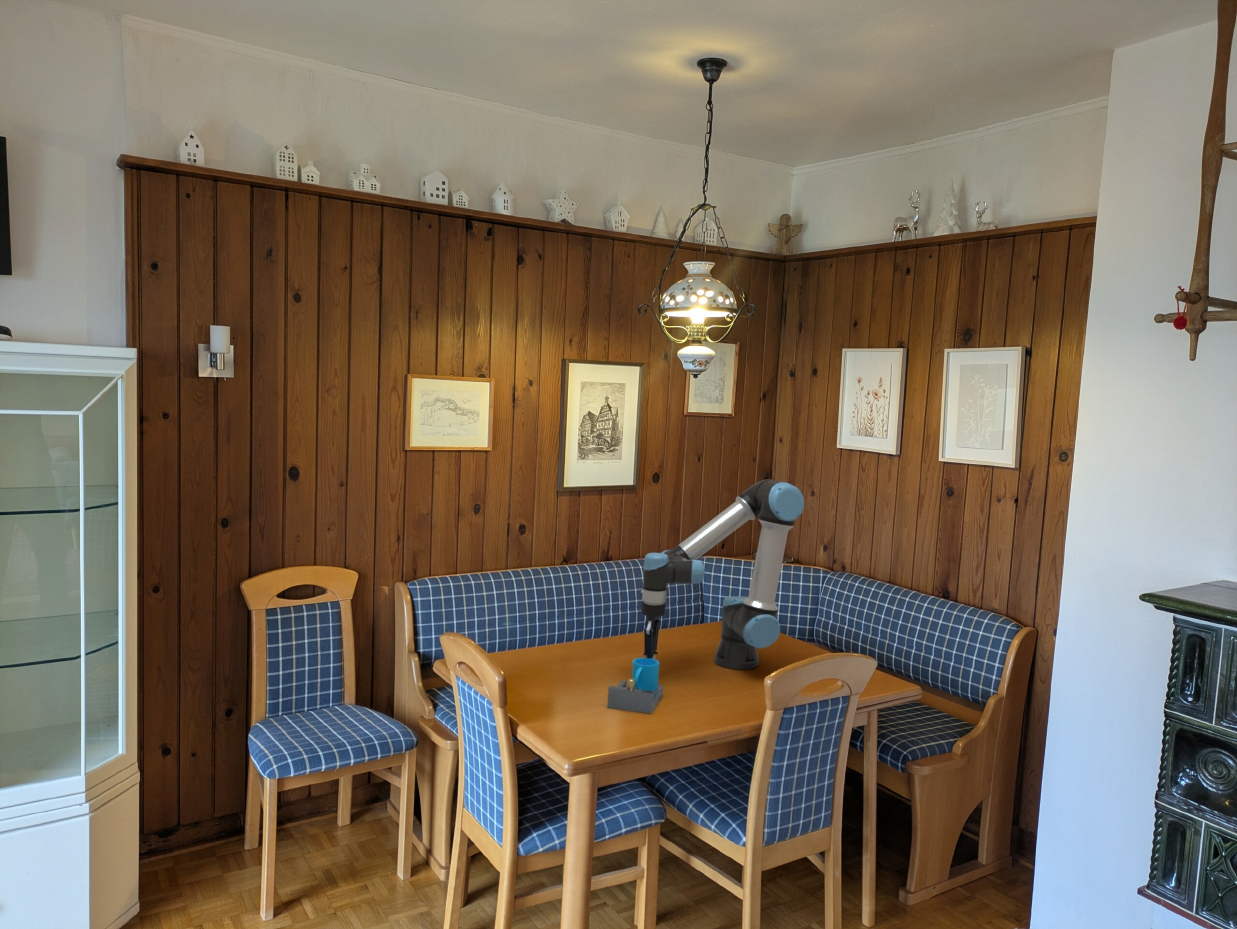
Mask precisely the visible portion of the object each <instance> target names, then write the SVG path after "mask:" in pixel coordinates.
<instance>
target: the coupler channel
mask: <svg viewBox="0 0 1237 929" xmlns="http://www.w3.org/2000/svg"><path fill="white" fill-rule="evenodd" d="M634 688H635V679H633V678H632V677H631V678H630V677H629V678H627V680H623V679H622V680H620V682H619V683H618V684H617V685H609V686H608V688H607V708H608V709H613V710H618V711H619V710H620V711H626V712H627V711H628V712H634V713H643V714H649V715H652V714H653V712H654V710H656V709H655V708H656V707H657V706H658V704H659V702H660V701H661V698H662V697H663V695H664V685H661V684H658V686H657V688H656V690H655V691H647V690H639V689H634Z"/></svg>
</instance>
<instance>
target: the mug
mask: <svg viewBox="0 0 1237 929" xmlns="http://www.w3.org/2000/svg"><path fill="white" fill-rule="evenodd" d="M659 671H660V661H659V660H657V659H656V658H655V659H651V658H646V657H638V658H637V657H636V658H634V659H633V660H632V674H631V678H633V679H635V688H634V689H639V690H647V691H655V690H656V688H657V686H658V685H659V673H660V672H659Z"/></svg>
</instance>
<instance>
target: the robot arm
mask: <svg viewBox="0 0 1237 929" xmlns="http://www.w3.org/2000/svg"><path fill="white" fill-rule="evenodd" d="M804 509H805V498H804V494H803V493H802V492H801V490H800V489H799V488H798V487H797V486H795V485H792V484H791V483H790V482H783V481H779V480H776V479H773V478H772V479H771V478H767V479H766V478H765V479H763V480H760V481H757V482H756V483H754V484H752V485H751V486H749V487H747V489H745V490H744V491H743V492H741V493H740V494H739V495H737V496H736V497H735V501H734V502H733V503H732V504H731V505H729V506H728V507H726V508H725V509H724V510H723V511H721V512H720V513H719V514H718V515H716V516H715V517H714V518H712V519H711V520H710V521H708V522H707V523H705V524H704V525H703V526H701V527H700V528H699V529H697V531H695V532H694V533H692V534H691V535H689V536H688V538H686V539H684V540H683V541H682V542H681V543H679V544H678V545H677V546H675V547H674V548H672V549H666V550H663V551H662V552H649V553H647V554H646V555H645V556H644V560H643V561H644V562H643V568H642V569H643V574H642V575H643V579H642V590H641V591H640V593H641V594H642V598H641V601H642V602H641V606H640V607H641V611H640V613H641V614H642V615H643V616H646V620H645V621H644V622H645V623H644V627H643V633H644V641H643V642H644V644H643V645H644V652H643V656H645V658H651V659H655V660H656V655H658V654H659V653H658V651H657V650H658V642H659V632H660V625H661V619H659V618H661V617H663V616H665V614H666V602H667V585H679V584H680V585H696V584H701V583H702V582H703V580H704V579H705V565H704V562H703V561H702V560H700V559H699V558H700V557H701V556H703V555H704V554H705V553H707V552H708V551H710V550H711V549H713V547H715V546H716V545H718V544H719V543H720V542H722V541H724V539H726V537H729V536H730V535H731V534H733V533H734V532H735V531H736V530H737V529H738V528H741V526H743V525H744V524H745V523H747V522H748V521H749V520H751V521H754V520H756V519H757V518H758V521H759V522H760V525H761V529H760V534H759V540H758V544H757V545H758V546H757V550H756V556H755V561H754V566H753V572H752V577H751V583H750V587H749V593H748V596H742V595H741V596H739V595H738V596H727V597H725V598H724V599H723V603H722V607H721V609H722V611H721V612H722V614H721V631H720V641H719V644H718V646H717V648H716V651H715V653H714V662H715V664H716V665H718V666H720V667H723V668H727V669H731V670H741V671H743V670H745V671H746V670H752V668H753V669H756V668H757V666H758V665H759V664H760V657H759V653H758V650H757V649H765V648H768V647H770V646H771V645H773V644H775V643H776V642H777V640H778V638H779V636H780V634H781V626H780V622H779V620H778V619H777V617H778V611H779V607H778V606H777V604H776V598H777V596H776V595H777V591H778V586H779V582H780V581H779V580H780V576H781V570H782V565H783V560H784V555H785V549H786V544H787V539H788V535H789V534H788V533H789V531H790V530H792V529H793V528H794V527H795V523H796V520H797V519H798V518H799V517H800V516H801V515H802V513H803V511H804ZM698 559H699V560H698ZM755 667H756V668H755Z"/></svg>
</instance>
